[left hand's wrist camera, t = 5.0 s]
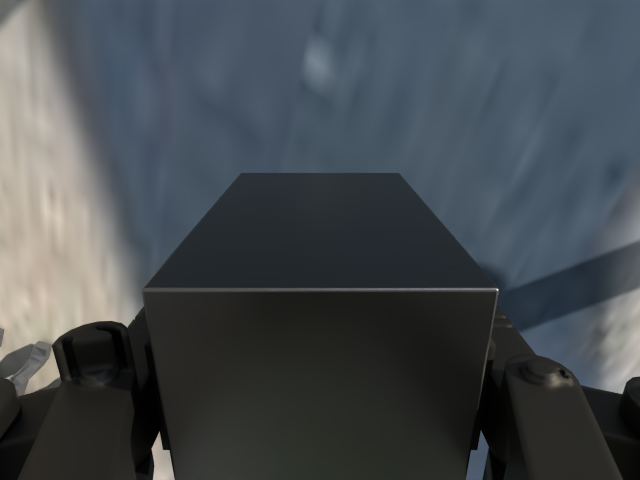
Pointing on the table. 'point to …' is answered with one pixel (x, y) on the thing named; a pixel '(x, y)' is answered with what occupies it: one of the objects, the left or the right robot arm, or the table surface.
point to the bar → (320, 334)
